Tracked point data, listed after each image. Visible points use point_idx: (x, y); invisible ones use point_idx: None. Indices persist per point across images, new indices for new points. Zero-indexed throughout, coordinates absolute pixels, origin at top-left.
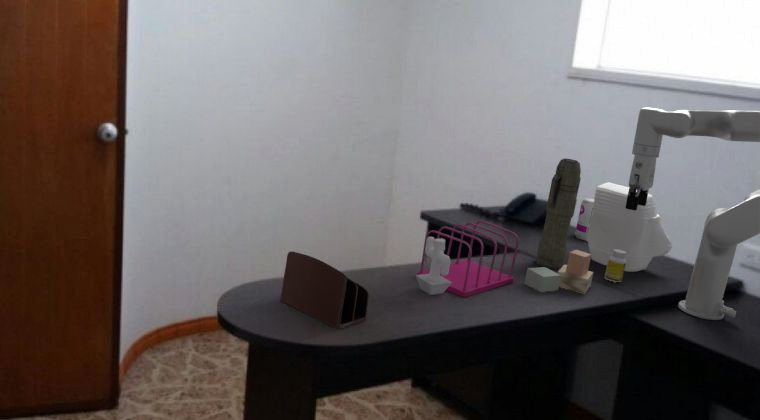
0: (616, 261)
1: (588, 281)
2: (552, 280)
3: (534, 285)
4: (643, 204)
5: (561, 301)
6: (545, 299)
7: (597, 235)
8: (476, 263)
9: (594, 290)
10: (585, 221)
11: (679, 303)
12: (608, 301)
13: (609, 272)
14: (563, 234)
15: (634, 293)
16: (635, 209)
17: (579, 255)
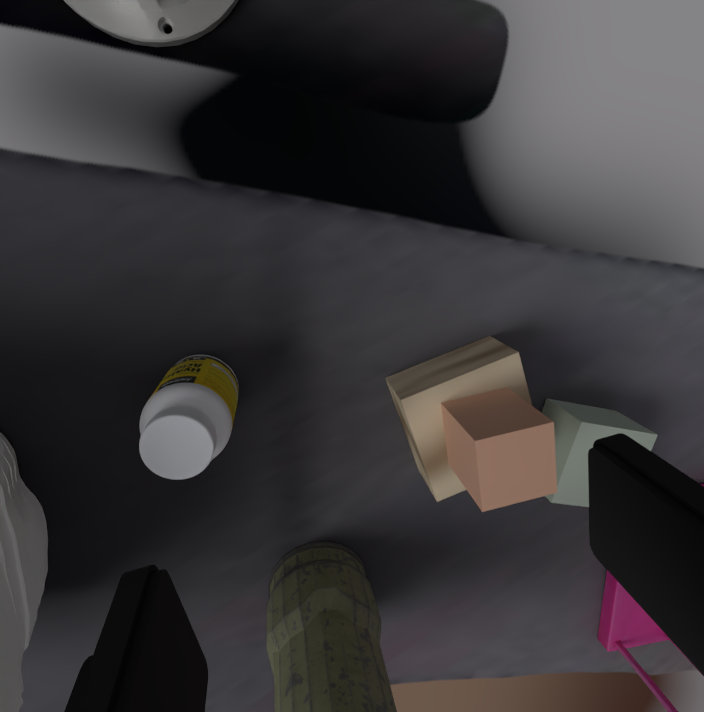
0: (226, 410)
1: (484, 358)
2: (604, 420)
3: None
4: (169, 591)
5: (632, 329)
6: (661, 363)
7: (4, 673)
8: (614, 623)
9: (409, 345)
10: None
11: (204, 25)
12: (471, 249)
13: (236, 404)
14: (353, 666)
15: (260, 248)
16: (622, 445)
17: (554, 449)
